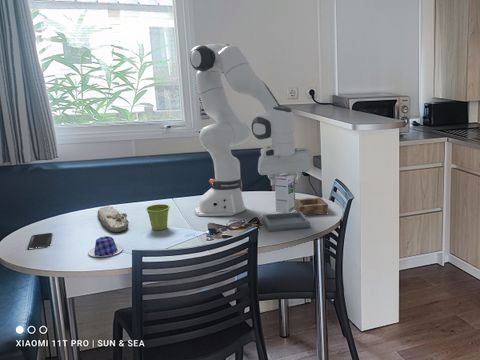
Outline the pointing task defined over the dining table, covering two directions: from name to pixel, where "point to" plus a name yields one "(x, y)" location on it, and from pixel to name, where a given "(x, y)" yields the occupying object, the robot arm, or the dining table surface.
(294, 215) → the tray
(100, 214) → the beige slipper
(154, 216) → the plant pot
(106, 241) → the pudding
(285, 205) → the syrup box
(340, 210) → the dining table surface
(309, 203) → the socket block
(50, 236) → the phone
